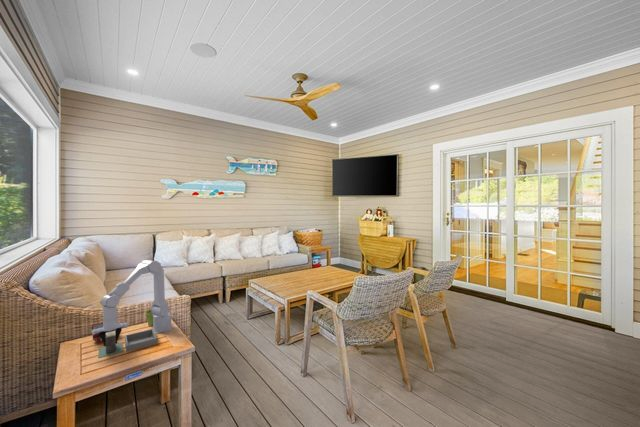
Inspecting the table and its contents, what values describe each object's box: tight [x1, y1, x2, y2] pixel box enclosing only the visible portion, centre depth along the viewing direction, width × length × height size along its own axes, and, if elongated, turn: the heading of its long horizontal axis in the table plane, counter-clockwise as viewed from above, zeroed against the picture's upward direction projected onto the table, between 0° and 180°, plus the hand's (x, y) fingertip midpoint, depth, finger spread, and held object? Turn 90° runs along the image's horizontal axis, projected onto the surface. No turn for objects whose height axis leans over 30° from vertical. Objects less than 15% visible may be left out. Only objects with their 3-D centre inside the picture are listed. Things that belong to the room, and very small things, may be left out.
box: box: [106, 331, 116, 353], centre depth 143 cm, size 4×9×7 cm, turn 38°
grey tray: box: [124, 328, 158, 353], centre depth 151 cm, size 14×23×4 cm, turn 38°
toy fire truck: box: [90, 321, 116, 344], centre depth 155 cm, size 7×12×10 cm, turn 142°
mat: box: [97, 341, 124, 359], centre depth 143 cm, size 10×12×1 cm
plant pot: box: [144, 308, 153, 327], centre depth 175 cm, size 9×9×9 cm
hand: (110, 344), depth 143 cm, fingers closed on box, 4 cm apart
